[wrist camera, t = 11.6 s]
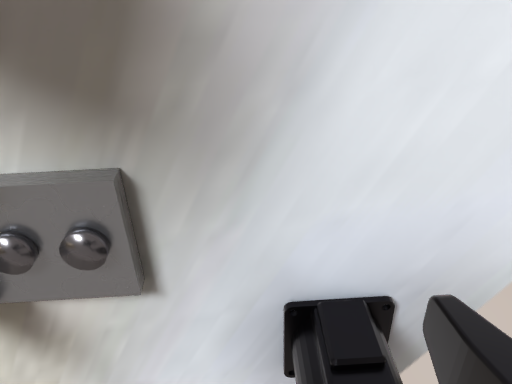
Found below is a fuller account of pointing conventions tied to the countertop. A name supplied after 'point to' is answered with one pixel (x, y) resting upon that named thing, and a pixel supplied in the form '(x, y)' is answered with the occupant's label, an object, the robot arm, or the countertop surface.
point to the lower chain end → (66, 237)
